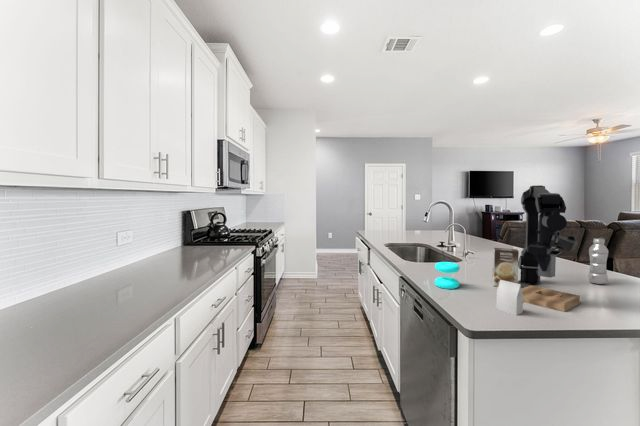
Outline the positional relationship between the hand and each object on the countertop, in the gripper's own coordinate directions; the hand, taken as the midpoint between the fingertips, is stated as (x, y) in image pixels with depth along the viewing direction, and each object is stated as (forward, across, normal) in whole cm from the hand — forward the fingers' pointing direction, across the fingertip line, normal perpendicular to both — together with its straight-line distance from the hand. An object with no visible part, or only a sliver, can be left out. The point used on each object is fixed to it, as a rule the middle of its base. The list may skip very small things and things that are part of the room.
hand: (546, 270), depth 116 cm
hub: (+12, 0, 0) cm, 12 cm away
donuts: (+12, -12, +33) cm, 37 cm away
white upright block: (+12, -21, +3) cm, 24 cm away
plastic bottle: (+12, +45, -3) cm, 47 cm away
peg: (+2, 0, 0) cm, 2 cm away
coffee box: (+12, +9, +19) cm, 24 cm away
